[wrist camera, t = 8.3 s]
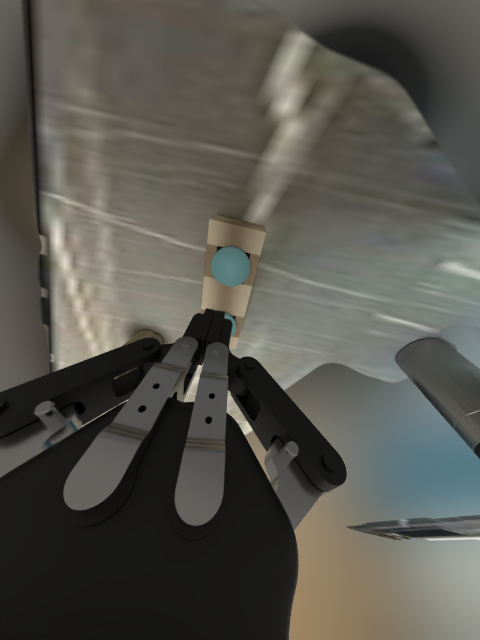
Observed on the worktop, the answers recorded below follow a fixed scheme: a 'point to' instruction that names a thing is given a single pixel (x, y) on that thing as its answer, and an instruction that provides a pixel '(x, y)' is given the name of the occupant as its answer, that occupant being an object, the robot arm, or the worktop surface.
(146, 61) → the worktop surface
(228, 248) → the teal peg
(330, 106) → the worktop surface
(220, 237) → the oak block
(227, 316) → the teal peg
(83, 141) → the worktop surface
